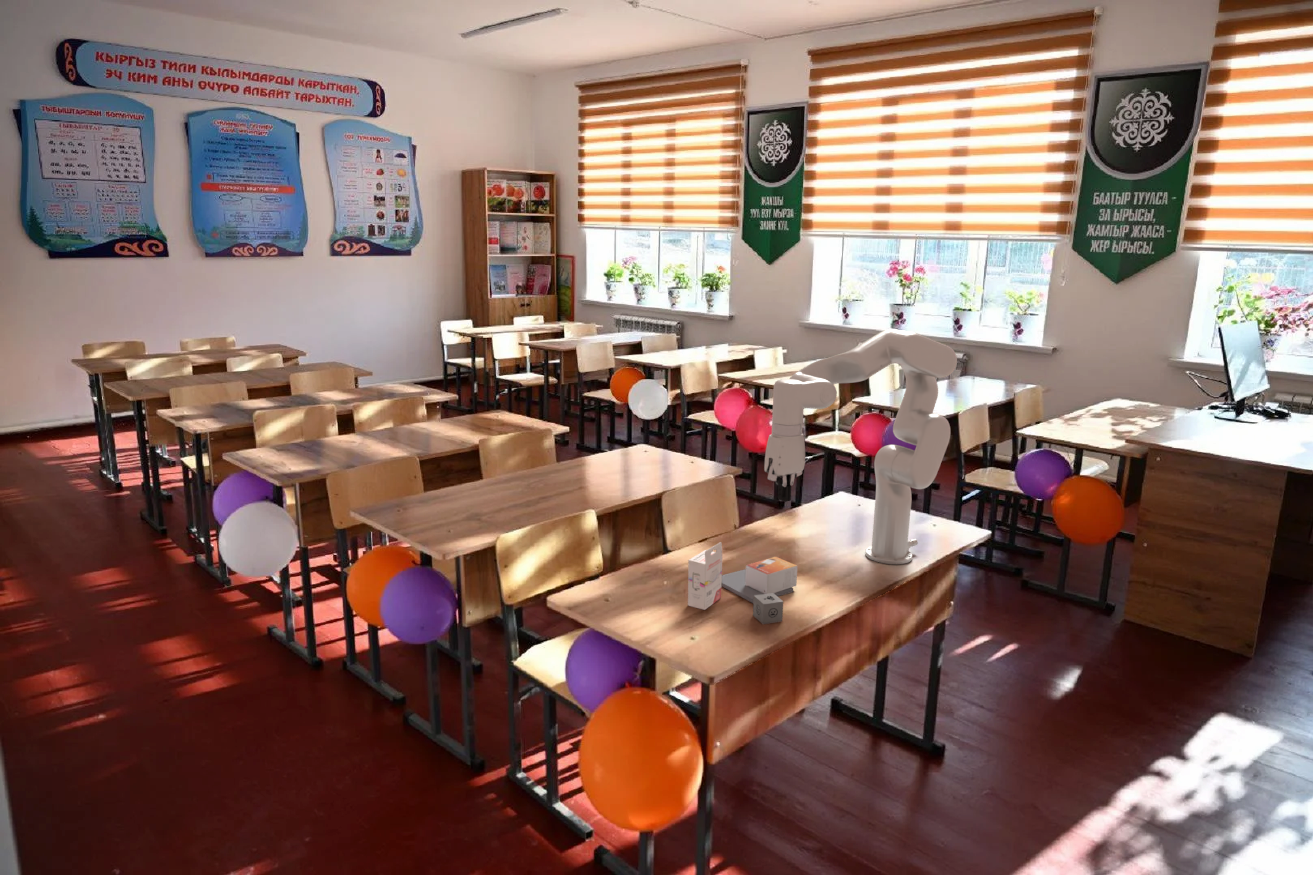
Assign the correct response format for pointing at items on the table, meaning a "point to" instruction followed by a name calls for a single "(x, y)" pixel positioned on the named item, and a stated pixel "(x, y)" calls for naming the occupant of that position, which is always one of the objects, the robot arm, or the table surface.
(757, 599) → the dice cube
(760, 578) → the small box
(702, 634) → the table surface
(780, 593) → the mat
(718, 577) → the ink cartridge box
